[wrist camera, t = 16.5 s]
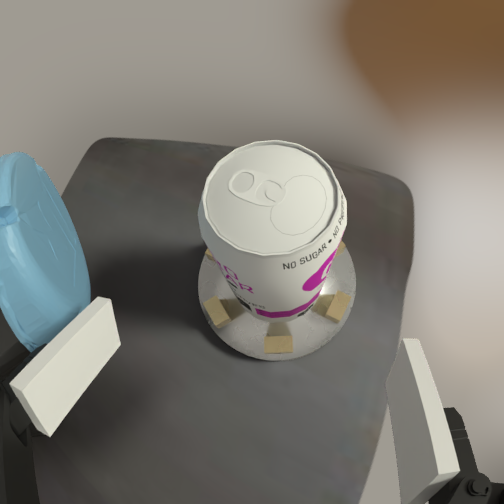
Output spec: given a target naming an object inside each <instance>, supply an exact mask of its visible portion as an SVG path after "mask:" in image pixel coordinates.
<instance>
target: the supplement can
mask: <svg viewBox="0 0 504 504" xmlns="http://www.w3.org/2000/svg"><path fill="white" fill-rule="evenodd" d="M198 219H199V225H200V231H201V236H202V238H203V240H204V242H205V244H206V245H207V247H208V249H209V251H210V252H211V254H212V256H213V258H214V260H215V261H216V263H217V265H218V267H219V268H220V270H221V272H222V274H223V275H224V277H225V279H226V281H227V282H228V284H229V286H230V288H231V289H232V291H233V293H234V295H235V296H236V298H237V299H238V301H239V303H240V304H241V306H242V307H243V309H244V310H245V311H247V312H248V313H250V314H251V315H252V316H254V317H255V318H257V319H259V320H263V321H267V322H270V323H281V322H290V321H292V320H294V319H296V318H299V317H301V316H303V315H304V314H305V313H306V312H307V311H308V310H309V309H310V308H312V307H313V306H314V304H315V303H316V301H317V299H318V297H319V294H320V292H321V290H322V287H323V285H324V282H325V280H326V277H327V275H328V272H329V270H330V267H331V265H332V262H333V260H334V257H335V254H336V252H337V249H338V246H339V244H340V241H341V238H342V236H343V233H344V230H345V228H346V225H347V204H346V199H345V196H344V194H343V192H342V190H341V187H340V185H339V183H338V180H337V179H336V177H335V175H334V173H333V171H332V169H331V167H330V166H329V165H328V164H327V163H326V162H325V161H324V160H323V159H322V158H321V157H320V156H319V155H318V154H317V153H315V152H313V151H311V150H309V149H307V148H305V147H303V146H301V145H299V144H296V143H291V142H285V141H280V140H271V141H259V142H253V143H251V144H248V145H245V146H242V147H240V148H237V149H235V150H233V151H232V152H231V153H229V154H228V155H227V156H225V157H224V158H223V159H221V160H220V161H219V162H218V163H217V164H216V166H215V167H214V169H213V170H212V172H211V173H210V175H209V176H208V178H207V180H206V184H205V188H204V190H203V192H202V197H201V201H200V205H199V210H198Z"/></svg>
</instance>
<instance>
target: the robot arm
mask: <svg viewBox="0 0 504 504" xmlns="http://www.w3.org/2000/svg"><path fill="white" fill-rule="evenodd" d="M90 301H91V289H90V280H89V274H88V269H87V265H86V261H85V257H84V254H83V251H82V247H81V245H80V241H79V239H78V236H77V233H76V230H75V228H74V225H73V223H72V220H71V218H70V216H69V214H68V211H67V209H66V207H65V205H64V203H63V201H62V199H61V197H60V195H59V193H58V191H57V190H56V188H55V186H54V184H53V183H52V181H51V180H50V178H49V176H48V175H47V173H46V172H45V171H44V169H43V168H42V167H41V166H38V165H36V162H35V160H34V159H33V158H32V157H31V156H29V155H27V154H26V153H23V152H14V153H11V154H6V155H3V156H1V157H0V504H40V501H39V496H38V490H37V484H36V477H35V470H34V462H33V452H32V440H31V437H32V436H42V435H47V436H49V437H51V435H52V434H53V433H54V431H55V430H56V429H57V427H58V426H59V425H60V423H61V422H62V420H63V419H64V418H65V416H66V415H67V414H68V412H69V411H70V410H71V408H72V407H73V406H74V404H75V403H76V402H77V400H78V399H79V398H80V396H81V395H82V394H83V392H84V391H85V390H86V388H87V387H88V386H89V385H90V383H91V382H92V381H93V379H94V378H95V377H96V375H97V374H98V373H99V372H100V370H101V369H102V368H103V367H104V365H105V364H106V363H107V361H108V360H109V359H110V358H111V356H112V355H113V354H114V353H115V351H116V350H117V349H118V348H119V346H120V345H121V343H120V339H119V335H118V331H117V326H116V322H115V317H114V313H113V308H112V303H111V299H107V298H103V297H97V298H96V299H95V300H94V301H93V302H92V303H91V304H90ZM385 388H386V393H387V399H388V405H389V410H390V416H391V423H392V429H393V435H394V443H395V450H396V458H397V467H398V476H399V486H400V497H401V504H425V503H426V502H427V501H429V504H504V484H502V483H493V482H490V480H489V478H488V477H487V476H485V475H484V474H482V473H479V472H478V469H477V466H476V462H475V459H474V455H473V452H472V448H471V445H470V442H469V439H468V435H467V432H466V430H465V426H464V422H463V420H462V417H461V415H460V414H459V413H458V412H457V411H456V409H455V408H454V407H453V408H443V407H442V404H441V400H440V397H439V394H438V391H437V388H436V385H435V382H434V380H433V377H432V374H431V371H430V368H429V366H428V363H427V360H426V357H425V355H424V352H423V349H422V347H421V344H420V342H419V339H408V338H403V339H402V341H401V344H400V347H399V350H398V352H397V355H396V357H395V360H394V363H393V365H392V368H391V370H390V373H389V375H388V377H387V380H386V382H385Z"/></svg>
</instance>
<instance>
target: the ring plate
mask: <svg viewBox="0 0 504 504" xmlns="http://www.w3.org/2000/svg"><path fill="white" fill-rule="evenodd" d="M355 289H356V278H355V271H354V266H353V263H352V260H351V257H350V255H349V253H348V251H347V248H346V246H345V244H344V243H343V242H342V240H341V241H340V244H339V246H338V249H337V252H336V254H335V257H334V260H333V262H332V265H331V267H330V270H329V272H328V275H327V277H326V280H325V282H324V285H323V287H322V290H321V292H320V294H319V297H318V299H317V301H316V303H315V304H314V306H313V307H312V308H310V309H309V310H308V311H307V312H306V313H305V314H304V315H303V316H301V317H299V318H296V319H294V320H292V321H290V322H281V323H270V322H267V321H263V320H259V319H257V318H255V317H254V316H252V315H251V314H250V313H248V312H247V311H245V310H244V309H243V307H242V306H241V304H240V303H239V301H238V299H237V298H236V296H235V295H234V293H233V291H232V289H231V288H230V286H229V284H228V282H227V281H226V279H225V277H224V275H223V274H222V272H221V270H220V268H219V267H218V265H217V263H216V261H215V260H214V258H213V256H212V254H211V252H210V251H209V249H207V250H206V252H205V256H204V258H203V261H202V263H201V267H200V271H199V279H198V293H199V300H200V304H201V307H202V311H203V313H204V315H205V317H206V319H207V321H208V323H209V324H210V326H211V328H212V329H213V330H214V331H215V333H216V334H217V335H218V336H219V337H220V338H221V339H222V340H223V341H224V342H225V343H227V344H228V345H229V346H231V347H232V348H234V349H236V350H237V351H239V352H241V353H243V354H245V355H247V356H250V357H253V358H256V359H261V360H267V361H286V360H292V359H296V358H300V357H303V356H305V355H308V354H310V353H312V352H314V351H316V350H318V349H319V348H321V347H322V346H323V345H325V344H326V343H327V342H328V341H330V340H331V339H332V338H333V337H334V336H335V335H336V334H337V333H338V331H339V330H340V329H341V327H342V326H343V325H344V323H345V321H346V319H347V318H348V316H349V314H350V311H351V308H352V306H353V302H354V297H355Z"/></svg>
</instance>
